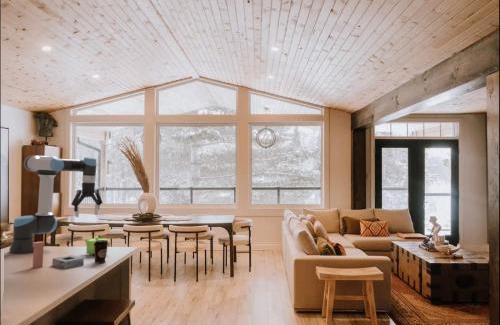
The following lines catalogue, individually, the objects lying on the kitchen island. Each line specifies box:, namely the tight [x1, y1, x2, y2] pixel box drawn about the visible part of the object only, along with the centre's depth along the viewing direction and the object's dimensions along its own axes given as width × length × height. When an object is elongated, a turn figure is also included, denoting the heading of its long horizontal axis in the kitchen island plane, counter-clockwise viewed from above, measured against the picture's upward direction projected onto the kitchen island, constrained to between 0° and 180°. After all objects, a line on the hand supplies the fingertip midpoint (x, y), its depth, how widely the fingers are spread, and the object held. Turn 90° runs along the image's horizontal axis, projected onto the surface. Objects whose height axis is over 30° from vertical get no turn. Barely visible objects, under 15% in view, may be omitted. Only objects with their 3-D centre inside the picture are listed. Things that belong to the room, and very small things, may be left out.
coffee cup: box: [93, 239, 109, 264], centre depth 244 cm, size 9×8×13 cm
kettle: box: [83, 236, 110, 256], centre depth 265 cm, size 15×14×11 cm
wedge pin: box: [32, 240, 46, 269], centre depth 227 cm, size 4×5×14 cm
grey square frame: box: [51, 255, 85, 270], centre depth 233 cm, size 12×12×4 cm
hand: (86, 215), depth 250 cm, fingers open, 13 cm apart
